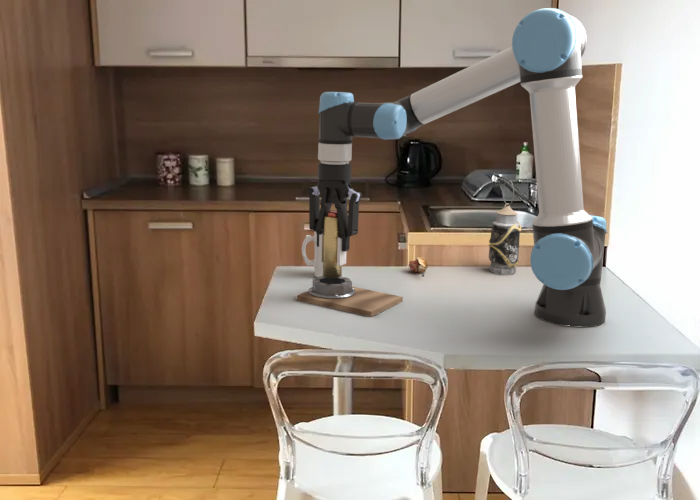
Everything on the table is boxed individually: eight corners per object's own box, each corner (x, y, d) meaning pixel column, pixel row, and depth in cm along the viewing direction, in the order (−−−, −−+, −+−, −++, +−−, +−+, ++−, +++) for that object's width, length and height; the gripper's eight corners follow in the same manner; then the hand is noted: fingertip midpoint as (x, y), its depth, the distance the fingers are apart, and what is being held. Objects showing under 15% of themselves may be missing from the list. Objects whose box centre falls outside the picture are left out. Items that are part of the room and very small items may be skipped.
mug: (336, 271, 203) (337, 227, 200) (342, 278, 197) (343, 232, 194) (298, 273, 200) (299, 228, 198) (303, 280, 194) (304, 233, 191)
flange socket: (364, 291, 182) (364, 279, 181) (338, 302, 173) (338, 289, 172) (325, 283, 187) (326, 272, 187) (298, 293, 178) (299, 281, 178)
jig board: (402, 301, 178) (402, 296, 178) (371, 316, 167) (371, 311, 166) (330, 287, 189) (331, 282, 188) (296, 300, 177) (296, 295, 177)
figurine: (399, 269, 208) (399, 253, 207) (416, 267, 210) (416, 251, 209) (423, 281, 196) (424, 264, 195) (441, 279, 198) (441, 262, 197)
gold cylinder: (345, 275, 180) (347, 211, 176) (334, 279, 176) (336, 214, 173) (329, 272, 182) (331, 209, 179) (319, 275, 178) (320, 212, 175)
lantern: (522, 275, 204) (530, 181, 199) (494, 276, 203) (501, 182, 197) (509, 267, 213) (516, 177, 207) (481, 268, 211) (488, 177, 205)
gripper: (376, 164, 172) (373, 265, 177) (312, 157, 181) (311, 254, 186) (358, 167, 165) (355, 272, 171) (293, 160, 174) (292, 260, 180)
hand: (332, 262), depth 178 cm, fingers closed on gold cylinder, 4 cm apart
